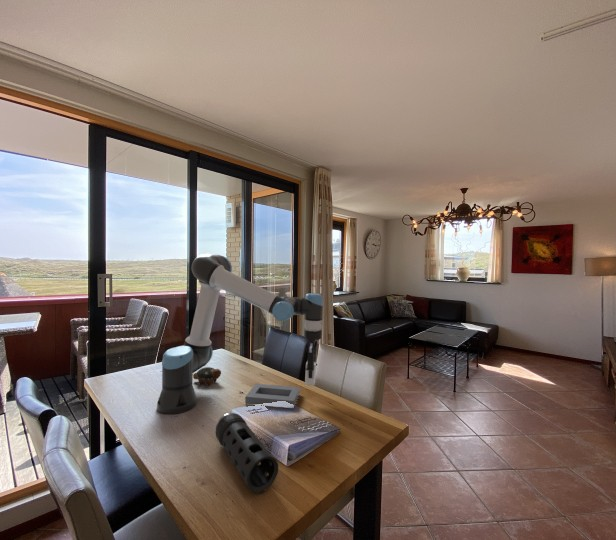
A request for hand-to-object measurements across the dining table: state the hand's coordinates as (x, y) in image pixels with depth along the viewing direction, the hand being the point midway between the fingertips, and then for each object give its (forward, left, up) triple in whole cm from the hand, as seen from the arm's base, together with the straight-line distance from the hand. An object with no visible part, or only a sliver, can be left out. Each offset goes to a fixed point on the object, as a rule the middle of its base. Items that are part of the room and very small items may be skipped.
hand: (311, 382), depth 129 cm
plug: (0, 0, 0) cm, 1 cm away
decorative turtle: (-54, +11, -9) cm, 56 cm away
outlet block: (-17, 0, -9) cm, 19 cm away
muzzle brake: (-15, -43, -9) cm, 46 cm away
